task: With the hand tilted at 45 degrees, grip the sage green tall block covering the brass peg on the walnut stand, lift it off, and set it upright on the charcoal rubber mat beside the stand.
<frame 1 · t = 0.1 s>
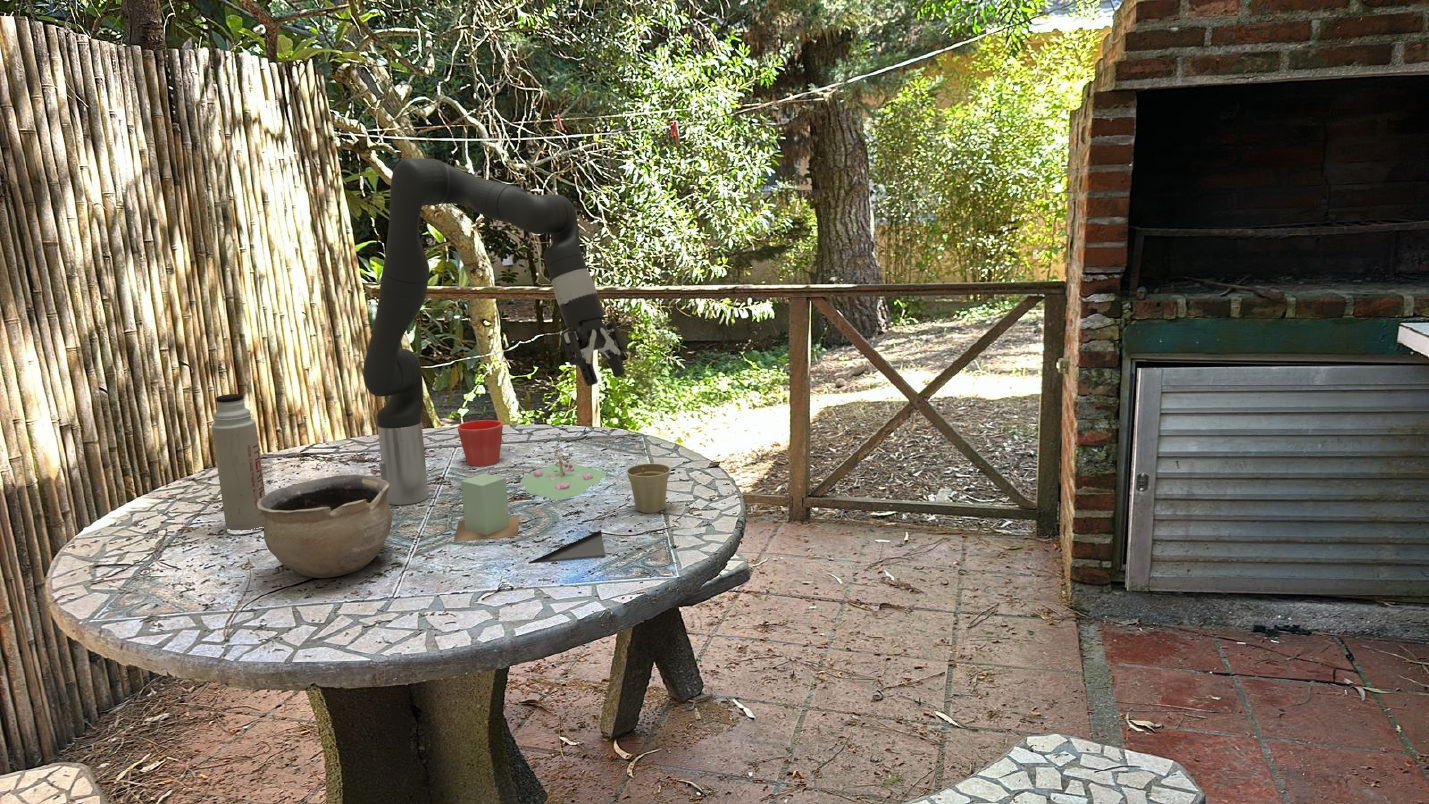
hand: (606, 380, 183), 31 cm above the table, tool tilted 20°, fingers open, 8 cm apart
flower pot 2: (483, 462, 245), on the table
thermos bottle: (248, 529, 201), on the table
ceramic bowl: (333, 569, 179), on the table
flower pot: (650, 509, 207), on the table
peg stand: (488, 535, 194), on the table
mat: (566, 546, 187), on the table
plant: (561, 486, 226), on the table
sage green tall block: (487, 528, 193), point 1 cm above the table, touching peg stand
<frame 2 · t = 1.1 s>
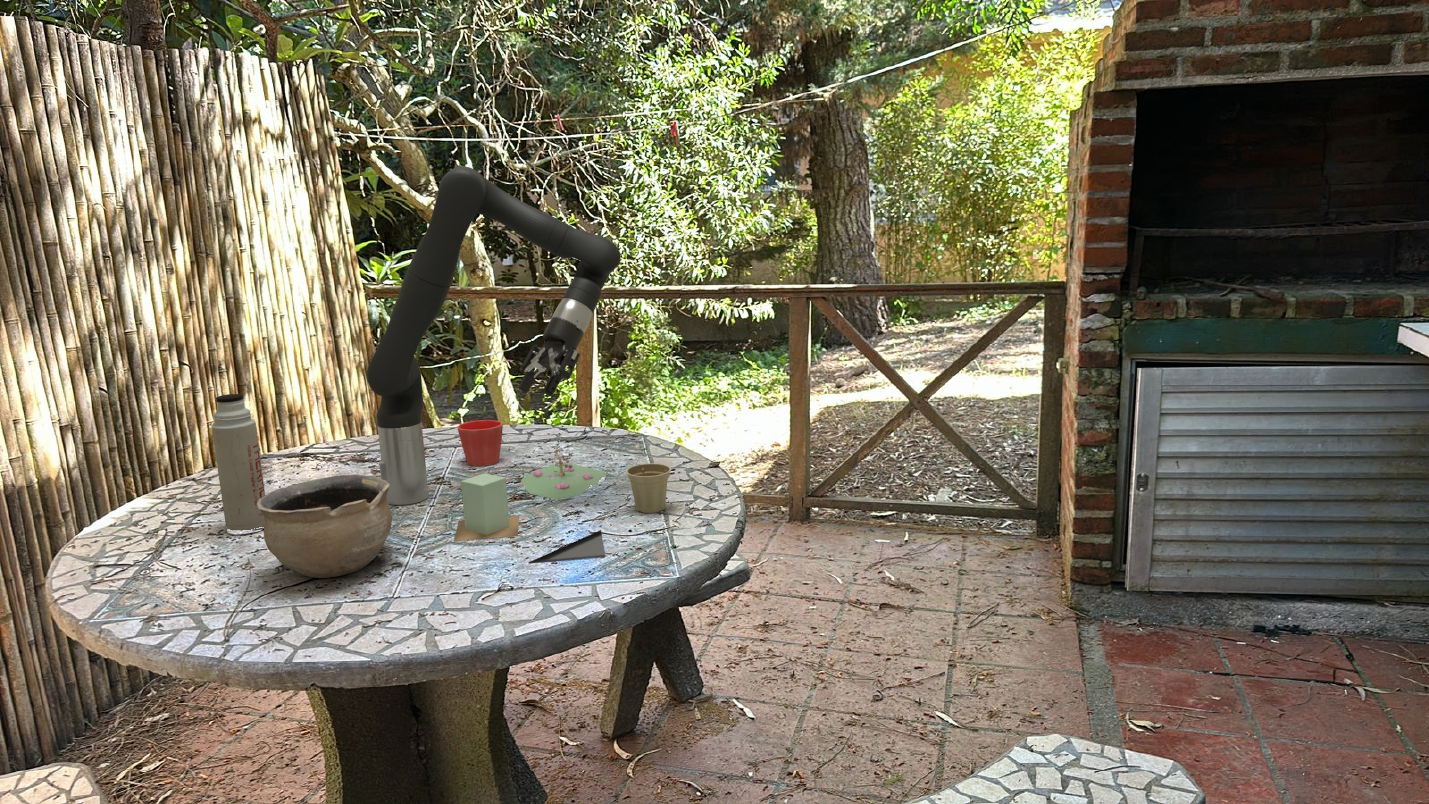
hand: (534, 392, 201), 26 cm above the table, tool tilted 40°, fingers open, 8 cm apart
nothing on the table moved.
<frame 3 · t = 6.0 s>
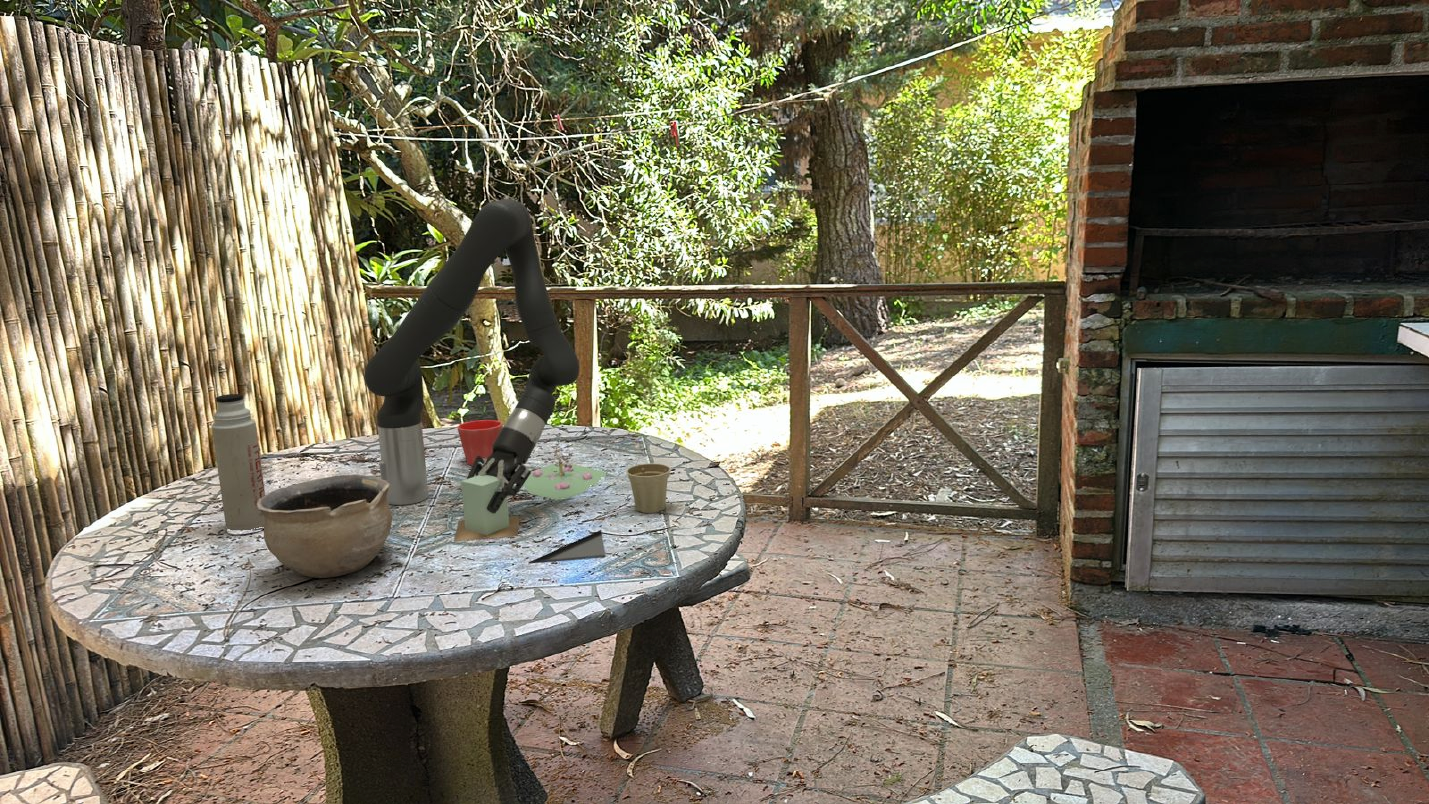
hand: (479, 508, 191), 6 cm above the table, tool tilted 45°, fingers closed on sage green tall block, 6 cm apart
sage green tall block: (487, 528, 193), point 2 cm above the table, touching gripper, peg stand
everything else where it was.
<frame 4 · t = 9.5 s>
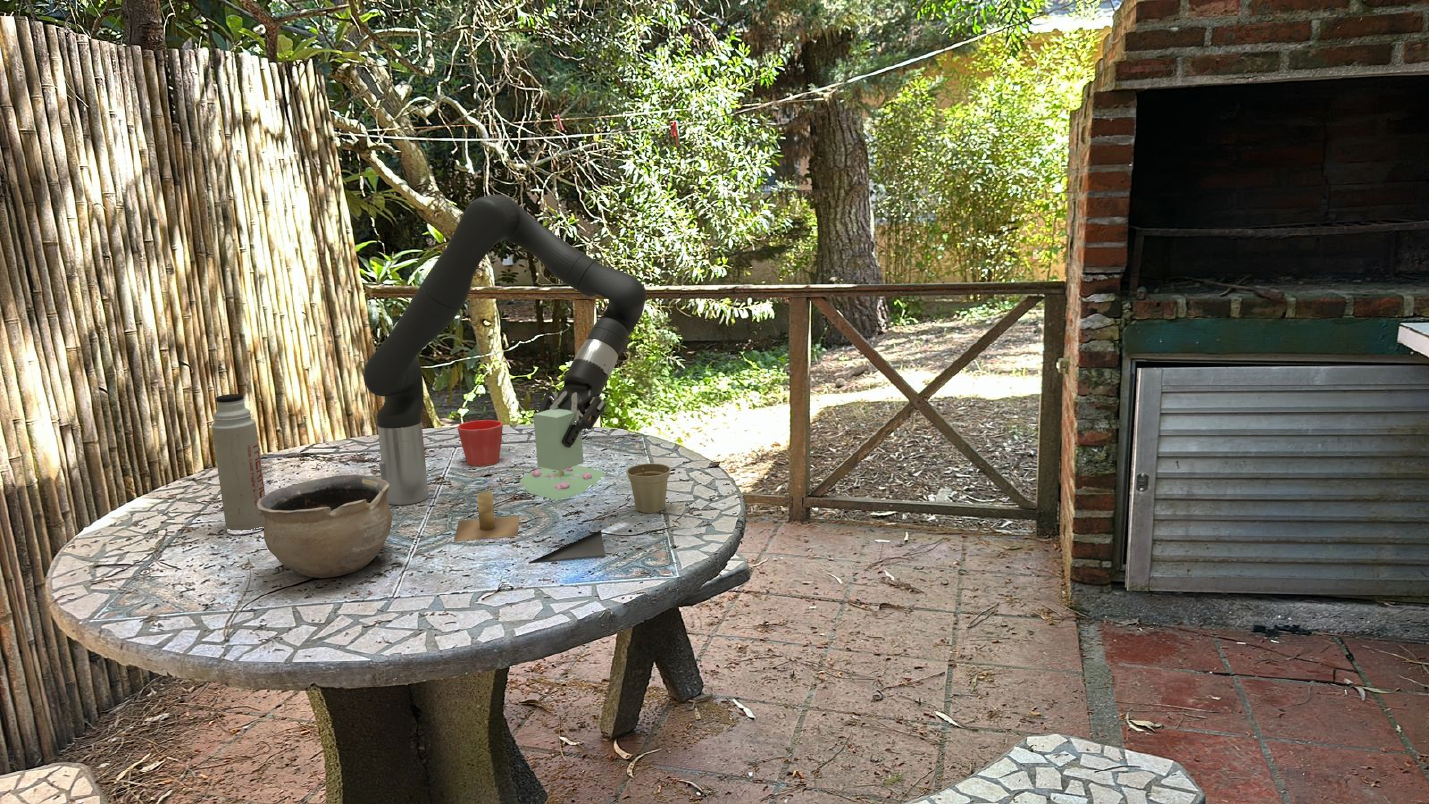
hand: (552, 443, 181), 21 cm above the table, tool tilted 45°, fingers closed on sage green tall block, 6 cm apart
sage green tall block: (560, 464, 183), point 16 cm above the table, touching gripper
everything else where it was.
when the fingers open (6 cm above the table, at t = 12.8 s): sage green tall block drops 1 cm, resting on mat.
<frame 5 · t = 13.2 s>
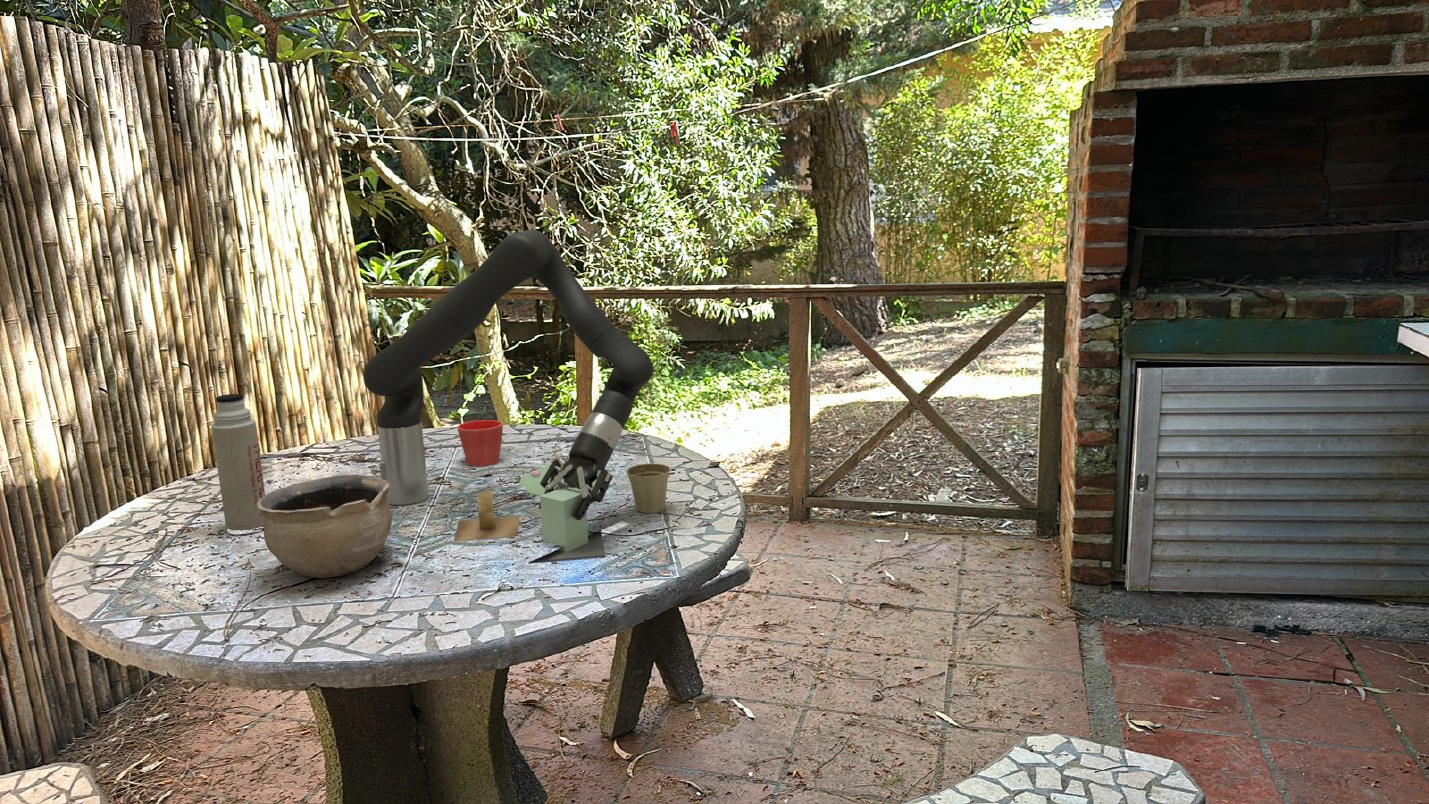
hand: (558, 514, 184), 7 cm above the table, tool tilted 45°, fingers open, 8 cm apart
sage green tall block: (566, 544, 187), resting on mat
everything else where it was.
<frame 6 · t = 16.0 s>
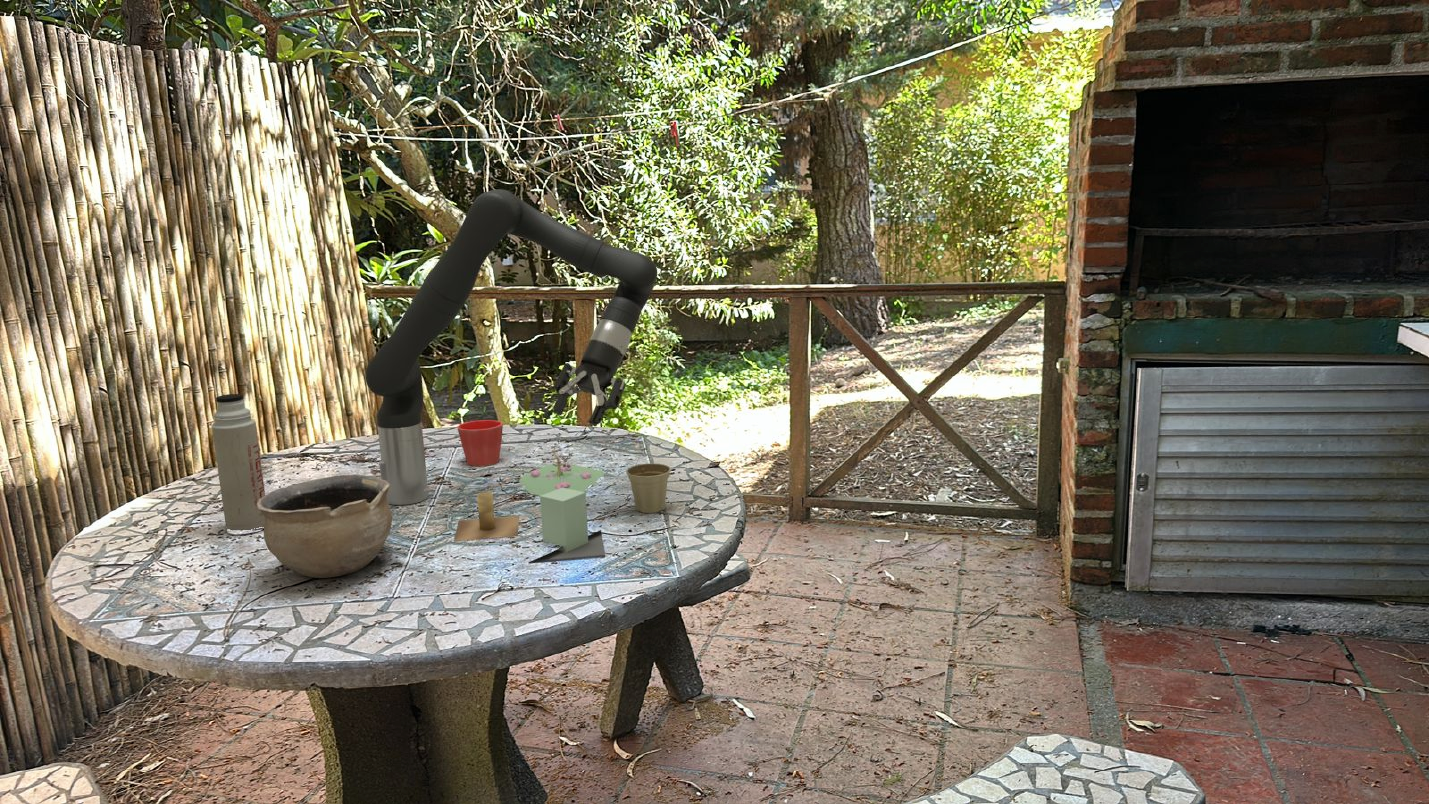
hand: (574, 419, 194), 22 cm above the table, tool tilted 35°, fingers open, 8 cm apart
nothing on the table moved.
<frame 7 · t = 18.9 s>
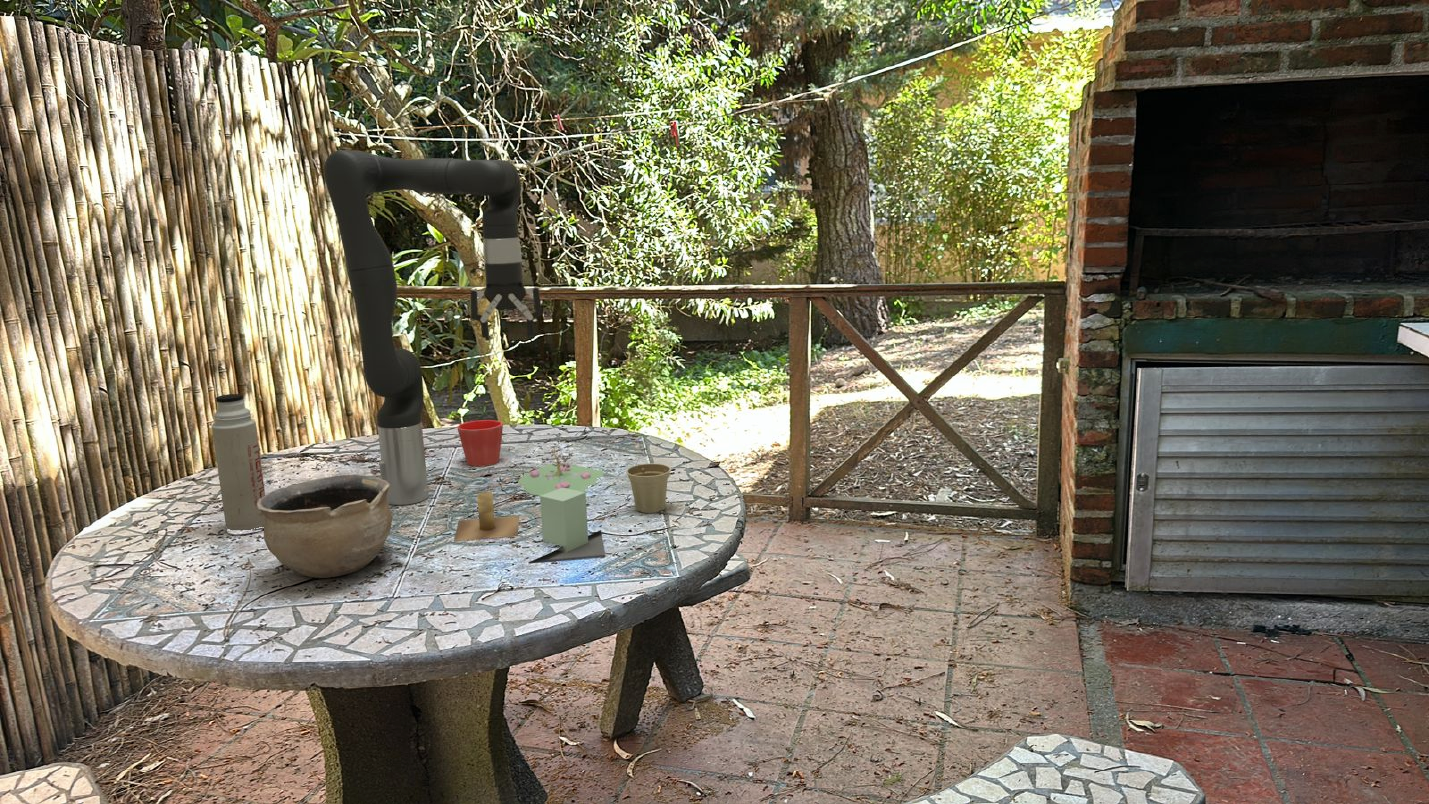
hand: (508, 338, 204), 36 cm above the table, tool pointing down, fingers open, 8 cm apart
nothing on the table moved.
at the end: sage green tall block inside the target area on the mat (0.1 cm from its centre), point 0.4 cm above the mat's base; sage green tall block tilted 0°; the gripper is holding nothing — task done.
